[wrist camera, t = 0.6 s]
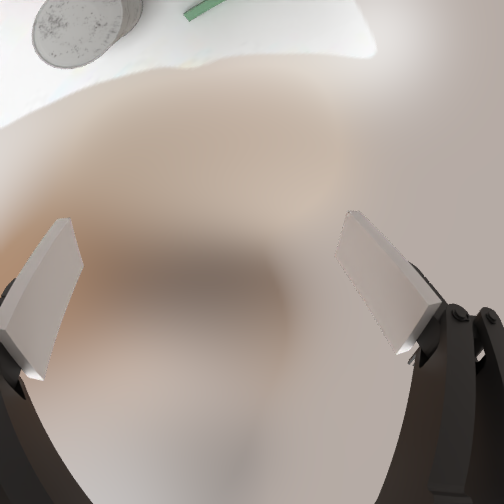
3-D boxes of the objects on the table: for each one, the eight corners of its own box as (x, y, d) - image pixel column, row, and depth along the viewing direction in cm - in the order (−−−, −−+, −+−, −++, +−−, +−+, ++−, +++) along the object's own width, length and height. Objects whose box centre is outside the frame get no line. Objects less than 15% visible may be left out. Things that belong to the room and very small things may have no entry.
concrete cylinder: (120, -32, 15) (90, -39, 8) (156, 14, 23) (142, 25, 16) (61, 14, 17) (16, 33, 11) (97, 56, 25) (66, 87, 18)
